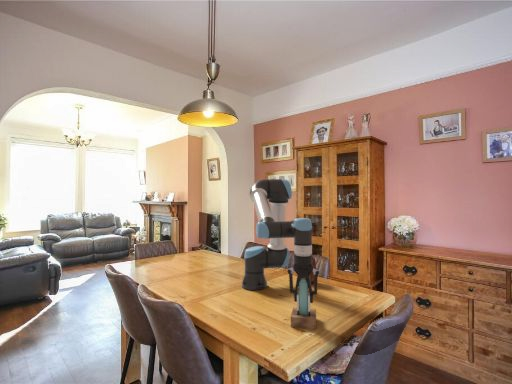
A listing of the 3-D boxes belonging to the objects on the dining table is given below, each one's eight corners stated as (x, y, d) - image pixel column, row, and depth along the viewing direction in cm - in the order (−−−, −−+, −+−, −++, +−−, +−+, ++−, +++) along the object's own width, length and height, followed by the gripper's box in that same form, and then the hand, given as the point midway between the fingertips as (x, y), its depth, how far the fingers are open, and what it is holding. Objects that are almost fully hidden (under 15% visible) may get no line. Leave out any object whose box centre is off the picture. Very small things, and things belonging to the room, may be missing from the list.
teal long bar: (298, 321, 114) (298, 278, 114) (299, 317, 118) (298, 275, 118) (308, 322, 113) (307, 279, 113) (308, 318, 117) (308, 276, 117)
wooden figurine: (304, 286, 163) (304, 256, 164) (297, 283, 168) (296, 254, 169) (318, 282, 170) (317, 253, 170) (310, 280, 175) (310, 252, 175)
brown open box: (290, 326, 112) (290, 317, 112) (293, 316, 121) (293, 307, 121) (315, 329, 109) (315, 319, 109) (316, 318, 119) (316, 309, 119)
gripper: (282, 255, 114) (282, 311, 114) (323, 257, 110) (324, 315, 110) (284, 252, 122) (284, 304, 121) (323, 253, 118) (324, 308, 117)
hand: (303, 309), depth 116 cm, fingers closed on teal long bar, 4 cm apart
